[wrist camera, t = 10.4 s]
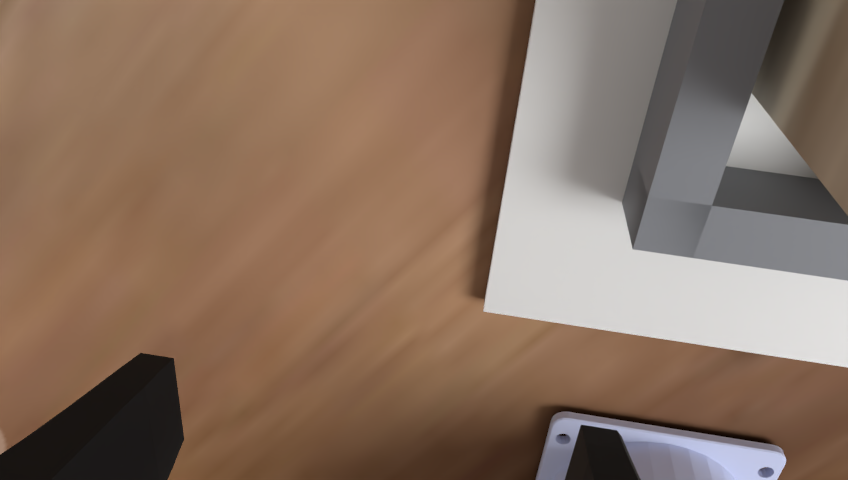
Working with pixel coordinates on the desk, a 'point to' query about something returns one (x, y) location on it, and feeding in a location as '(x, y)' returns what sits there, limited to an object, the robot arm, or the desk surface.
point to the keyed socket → (665, 186)
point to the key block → (811, 87)
